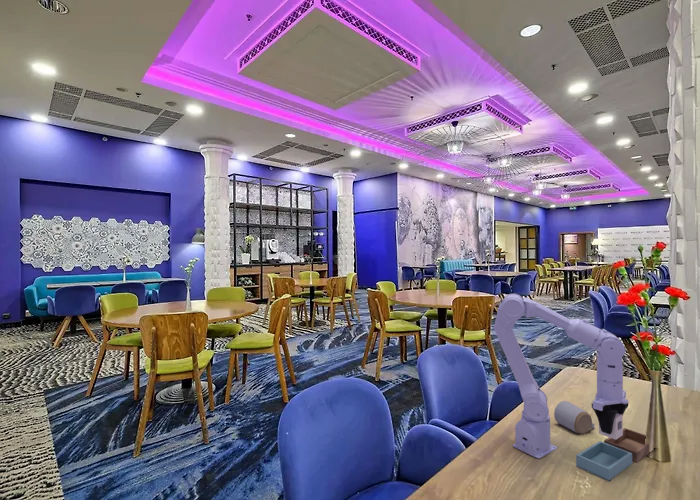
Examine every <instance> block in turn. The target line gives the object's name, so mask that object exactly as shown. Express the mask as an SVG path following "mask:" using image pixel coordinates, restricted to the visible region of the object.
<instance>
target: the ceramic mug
mask: <svg viewBox="0 0 700 500" xmlns="http://www.w3.org/2000/svg"><path fill="white" fill-rule="evenodd" d="M553 416H554V417H553V418H554V420H555V421H556V423H557V424H559V425H561V426H563V427H564V428H567V429H568V430H571V431H572V432H574V433H577V434H578V435H579V434H580V435H583V434H586V433H588V432H589V431H590V430H591V429H592V430H593V429H594V428H595V423H593V420H592V416H591V415H590V414H589V412H588V411H586V410H585V409H583V408H581V407H578V406H577V405H575V404H574V403H571V402H570V401H567V400H562V401H560V402H558V403H557V404H556V406H555V408H554V413H553Z"/></svg>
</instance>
